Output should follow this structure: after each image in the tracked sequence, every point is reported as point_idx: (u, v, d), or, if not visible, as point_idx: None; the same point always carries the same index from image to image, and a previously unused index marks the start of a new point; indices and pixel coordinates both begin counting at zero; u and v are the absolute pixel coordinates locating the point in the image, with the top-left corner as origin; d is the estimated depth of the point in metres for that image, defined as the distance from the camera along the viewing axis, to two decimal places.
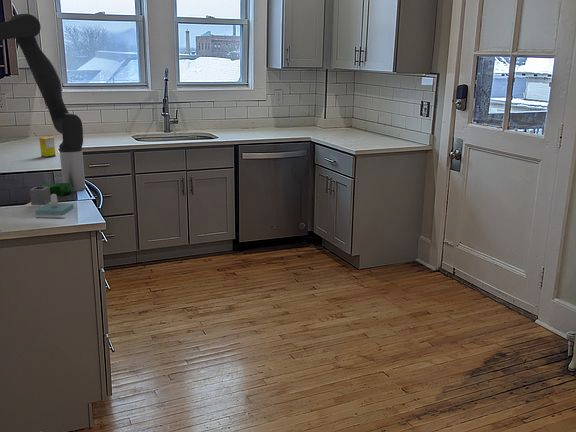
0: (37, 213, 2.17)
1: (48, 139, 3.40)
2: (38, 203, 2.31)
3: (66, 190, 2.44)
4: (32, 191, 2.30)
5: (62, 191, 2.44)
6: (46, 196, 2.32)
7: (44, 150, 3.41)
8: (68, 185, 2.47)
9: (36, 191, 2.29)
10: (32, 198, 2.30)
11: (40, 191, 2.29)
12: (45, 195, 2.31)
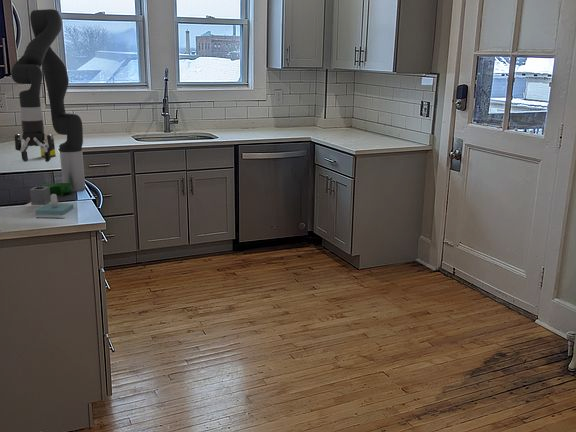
0: (37, 213, 2.17)
1: None
2: (38, 203, 2.31)
3: (66, 190, 2.45)
4: (32, 191, 2.30)
5: (62, 191, 2.44)
6: (46, 196, 2.32)
7: None
8: (68, 185, 2.47)
9: (36, 191, 2.29)
10: (32, 198, 2.30)
11: (40, 191, 2.29)
12: (45, 195, 2.31)
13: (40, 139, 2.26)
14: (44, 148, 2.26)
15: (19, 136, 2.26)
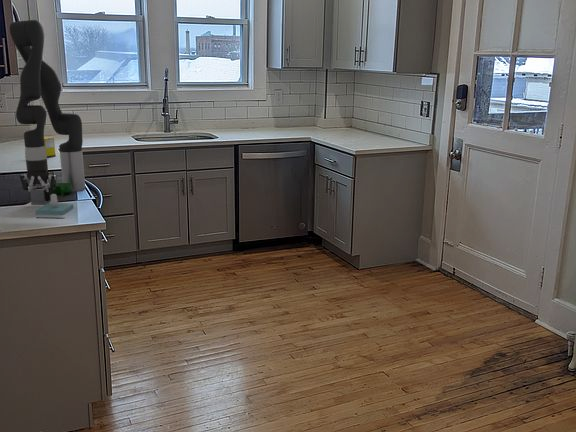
0: (37, 213, 2.17)
1: (48, 139, 3.40)
2: (38, 203, 2.31)
3: (66, 190, 2.45)
4: (32, 191, 2.30)
5: (62, 191, 2.45)
6: None
7: None
8: (68, 185, 2.48)
9: (36, 191, 2.29)
10: (32, 198, 2.30)
11: (40, 191, 2.29)
12: (45, 195, 2.31)
13: (44, 179, 2.30)
14: (46, 188, 2.31)
15: (24, 176, 2.30)
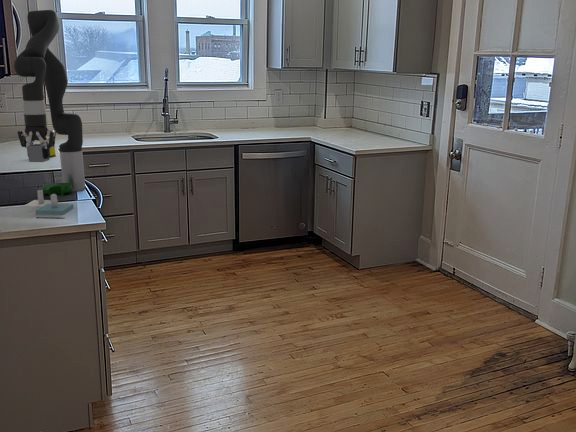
0: (37, 213, 2.17)
1: (48, 139, 3.40)
2: (36, 160, 2.21)
3: (66, 190, 2.45)
4: (30, 147, 2.20)
5: (62, 191, 2.45)
6: None
7: None
8: (68, 185, 2.48)
9: (34, 147, 2.20)
10: (30, 155, 2.21)
11: (38, 147, 2.20)
12: (43, 152, 2.21)
13: (42, 135, 2.20)
14: (44, 144, 2.21)
15: (22, 132, 2.21)
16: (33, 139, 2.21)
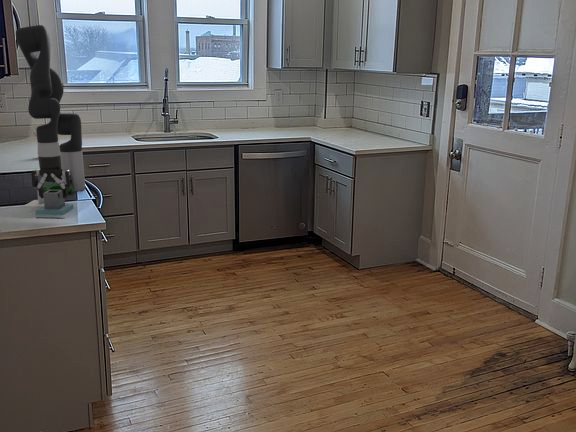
0: (37, 213, 2.17)
1: None
2: (52, 207, 2.19)
3: None
4: (46, 195, 2.18)
5: None
6: (60, 200, 2.20)
7: None
8: None
9: (50, 195, 2.18)
10: (46, 202, 2.18)
11: (54, 195, 2.17)
12: (59, 198, 2.19)
13: (58, 175, 2.17)
14: (61, 184, 2.18)
15: (36, 172, 2.18)
16: (46, 181, 2.18)
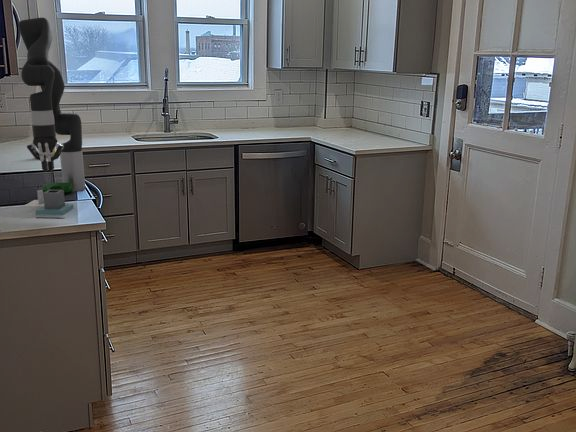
0: (37, 213, 2.17)
1: None
2: (52, 207, 2.19)
3: (67, 189, 2.45)
4: (46, 195, 2.18)
5: None
6: (60, 200, 2.20)
7: None
8: (69, 184, 2.48)
9: (50, 195, 2.18)
10: (46, 202, 2.18)
11: (54, 195, 2.17)
12: (59, 198, 2.19)
13: (51, 147, 2.12)
14: (49, 157, 2.13)
15: (31, 145, 2.13)
16: (44, 149, 2.13)
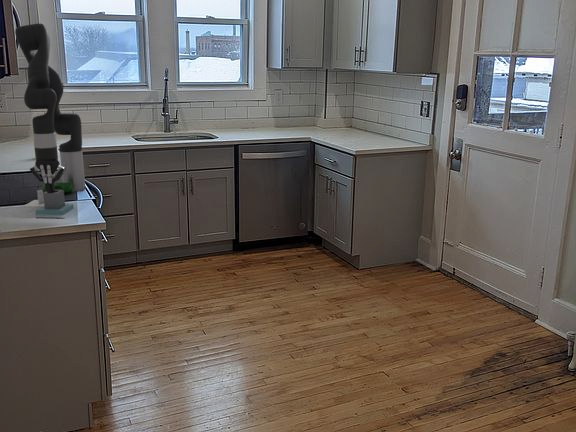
0: (37, 213, 2.17)
1: None
2: (52, 207, 2.19)
3: (67, 189, 2.46)
4: (46, 195, 2.18)
5: None
6: (60, 200, 2.20)
7: None
8: (69, 184, 2.48)
9: (50, 195, 2.18)
10: (46, 202, 2.18)
11: (54, 195, 2.17)
12: (59, 198, 2.19)
13: (52, 169, 2.14)
14: (50, 179, 2.15)
15: (34, 168, 2.15)
16: (47, 171, 2.15)
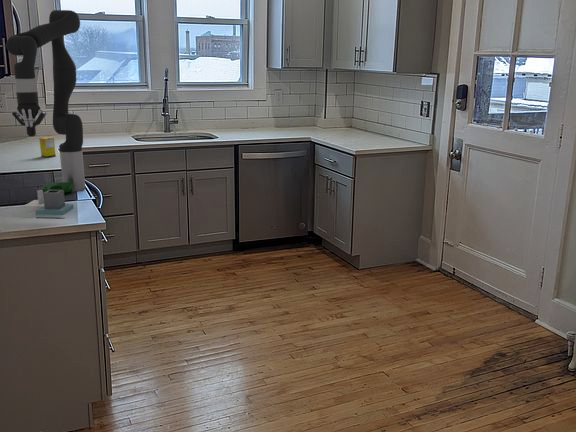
0: (37, 213, 2.17)
1: (48, 139, 3.40)
2: (52, 207, 2.19)
3: (67, 189, 2.46)
4: (46, 195, 2.18)
5: None
6: (60, 200, 2.20)
7: (44, 150, 3.41)
8: (69, 184, 2.49)
9: (50, 195, 2.18)
10: (46, 202, 2.18)
11: (54, 195, 2.17)
12: (59, 198, 2.19)
13: (33, 113, 2.28)
14: (31, 122, 2.29)
15: (16, 112, 2.28)
16: (28, 115, 2.28)
